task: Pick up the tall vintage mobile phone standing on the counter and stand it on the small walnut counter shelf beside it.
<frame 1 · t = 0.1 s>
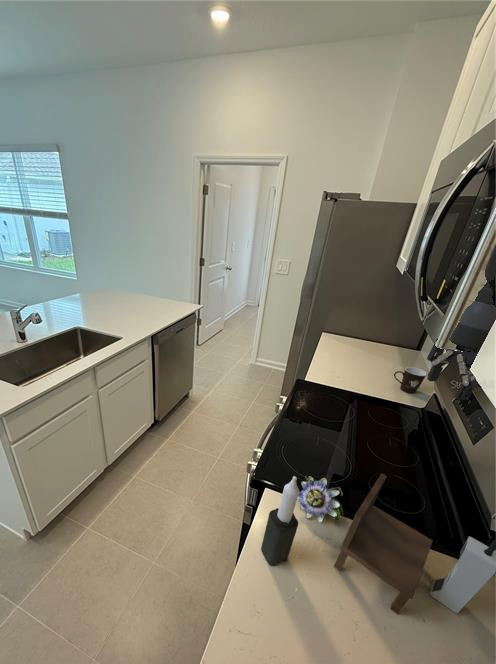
hand: (444, 389, 72), 35 cm above the worktop, tool pointing down, fingers open, 8 cm apart
shelf: (375, 563, 71), on the worktop
coffee mug: (404, 389, 145), on the worktop
vintage mobile phone: (443, 598, 65), on the worktop
passion flower: (315, 508, 83), on the worktop
candle: (273, 554, 72), on the worktop
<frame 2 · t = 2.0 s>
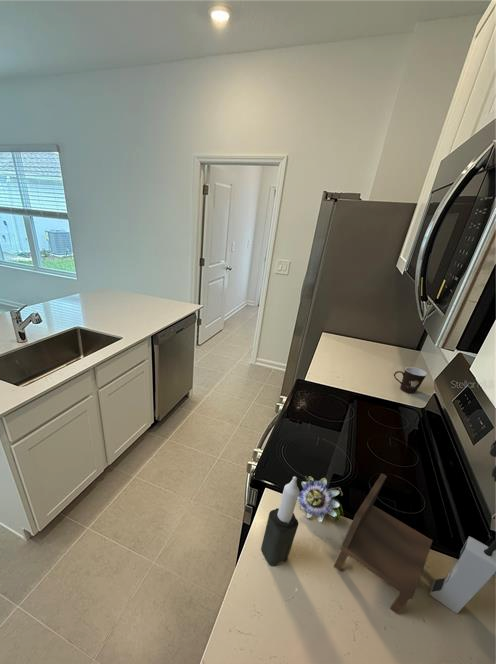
nothing on the worktop moved.
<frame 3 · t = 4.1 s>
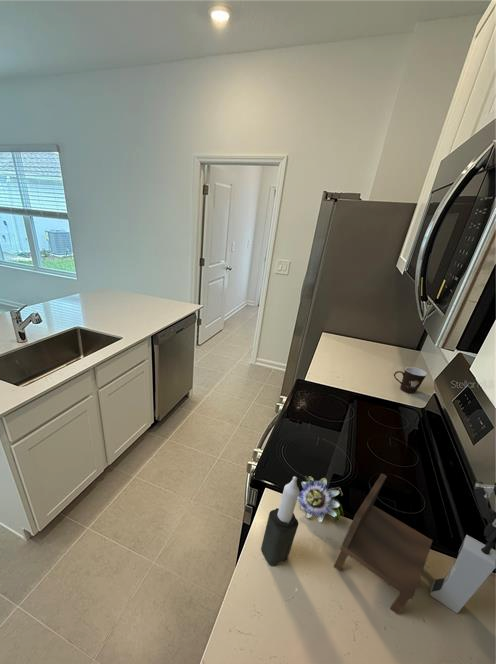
hand: (493, 540, 55), 20 cm above the worktop, tool pointing down, fingers closed on vintage mobile phone
vintage mobile phone: (443, 598, 65), on the worktop, touching gripper
everything else where it was.
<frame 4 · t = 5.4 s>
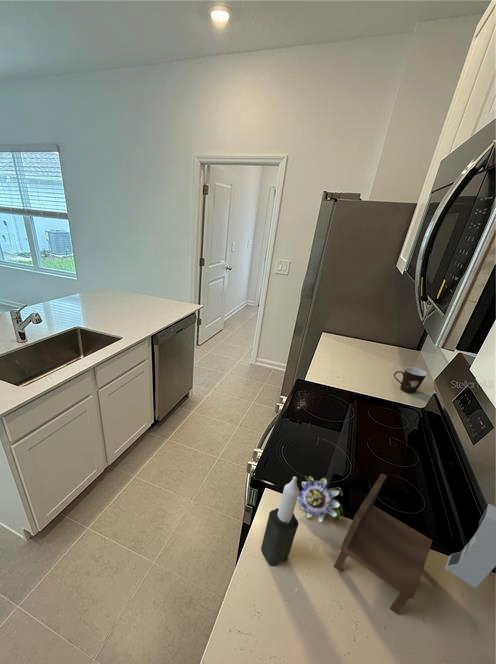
vintage mobile phone: (460, 573, 61), point 9 cm above the worktop, touching gripper
everything else where it was.
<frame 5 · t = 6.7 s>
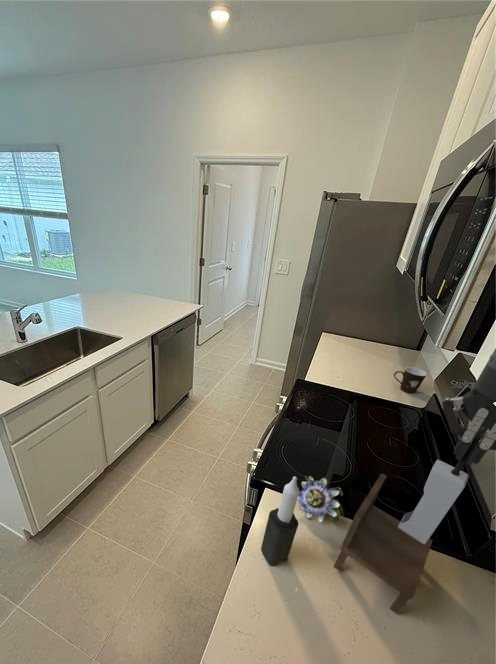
hand: (463, 459, 52), 34 cm above the worktop, tool pointing down, fingers closed on vintage mobile phone
vintage mobile phone: (412, 531, 62), point 14 cm above the worktop, touching gripper
everything else where it was.
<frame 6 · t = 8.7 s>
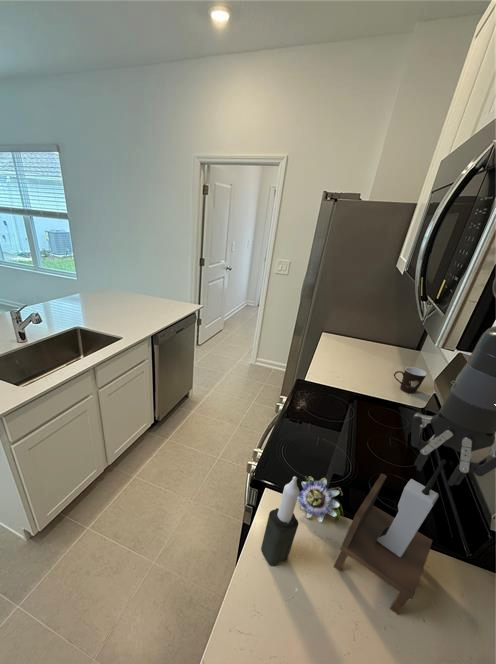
hand: (434, 475, 56), 29 cm above the worktop, tool pointing down, fingers open, 4 cm apart
vintage mobile phone: (390, 544, 67), point 8 cm above the worktop, touching shelf
everything else where it was.
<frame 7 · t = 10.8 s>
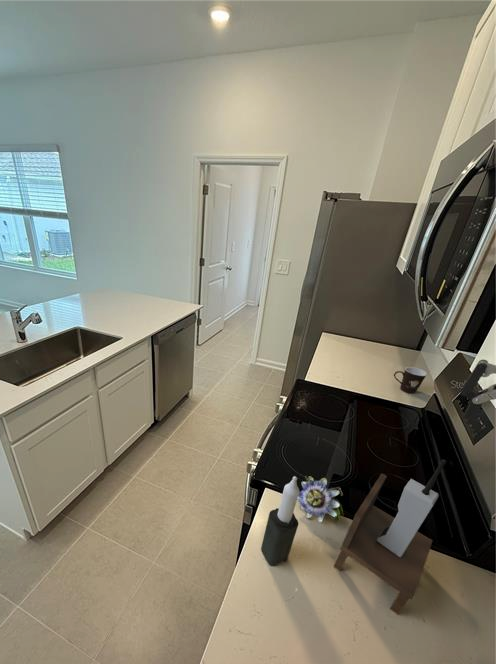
nothing on the worktop moved.
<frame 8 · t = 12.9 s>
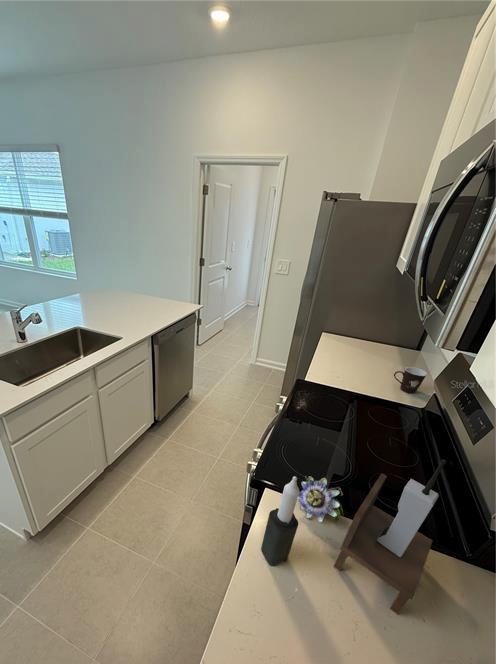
nothing on the worktop moved.
at the end: vintage mobile phone inside the target area (0.1 cm from its centre), point 7.8 cm above the worktop; vintage mobile phone touching shelf; the gripper is holding nothing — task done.
